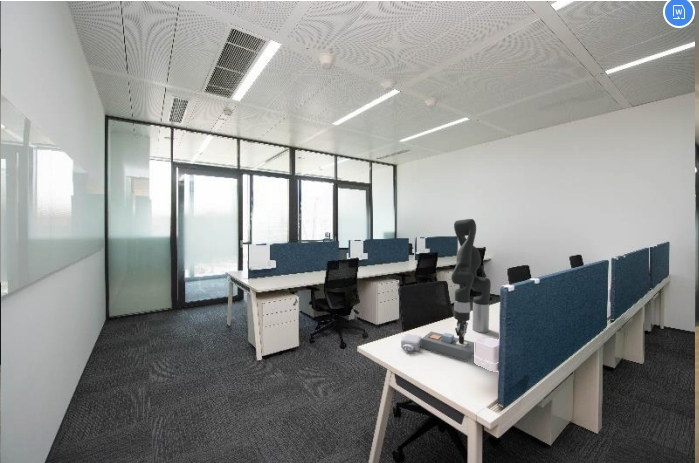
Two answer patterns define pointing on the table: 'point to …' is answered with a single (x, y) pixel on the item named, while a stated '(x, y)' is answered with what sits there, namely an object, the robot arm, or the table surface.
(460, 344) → the key ivory
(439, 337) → the key terracotta
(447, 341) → the light blue cube
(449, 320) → the table surface
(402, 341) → the charger
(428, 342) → the keypad
